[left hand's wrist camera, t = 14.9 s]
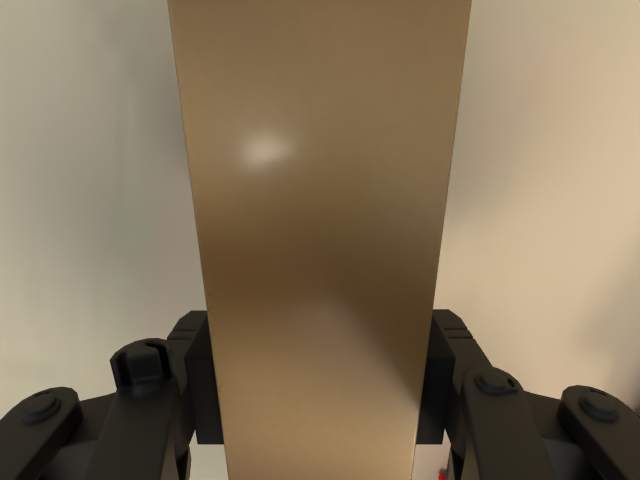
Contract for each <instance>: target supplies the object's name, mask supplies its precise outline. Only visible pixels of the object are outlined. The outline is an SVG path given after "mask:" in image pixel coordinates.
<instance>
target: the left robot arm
mask: <svg viewBox="0 0 640 480" xmlns="http://www.w3.org/2000/svg"><path fill="white" fill-rule="evenodd" d="M110 363H111V367H112V371H113V375H114V379H115V383H116V387H117V391H116V392H115V393H112V394H108V395H105V396H100V397H96V398H92V399H87V400H83V401H79V398H78V394H77V392H75V391H74V390H73V389H72V388H67V387H57V388H50V389H47V390H44V391H41V392H38V393H35V394H33V395H31V396H30V397H28V398H26V399H24V400H22V401H21V402H20V403H19V404H17V405H16V406H15V407H13V408H12V409H11V410H10V411H9V412H8V413H7V414H6V415H5V416H4V417H3V418H2V419H1V420H0V480H189V478H190V468H191V454H190V448H189V444H190V441H191V439H192V436H193V433H194V431H196V437H197V443H198V444H224V440H223V432H222V424H221V416H220V408H219V400H218V393H217V385H216V377H215V369H214V361H213V353H212V346H211V338H210V330H209V322H208V314H207V311H190V312H189V313H187V314H186V315H185V316H183V317H182V318H180V319H179V321H178V322H177V324H176V325H175V327H174V328H173V331H171V333H170V334H169V336H168V337H167V340H164V339H160V338H147V339H143V340H139V341H135V342H133V343H130V344H128V345H126V346H124V347H123V348H121V349H120V350H118V351H117V352H116V353H115V354H114V355H113V356H112V358H111V359H110ZM444 429H445V430H446V432H447V435H448V437H449V440H450V443H451V448H450V453H449V459H448V465H447V471H446V477H445V480H450V477H451V480H640V418H639V417H638V416H637V415H636V414H635V413H634V412H633V411H632V410H631V409H630V408H629V407H628V406H626V405H625V404H624V403H623V402H621V401H620V400H619V399H617V398H615V397H614V396H612V395H610V394H608V393H606V392H604V391H601V390H599V389H595V388H592V387H588V386H580V385H576V386H570V387H568V388H566V389H565V390H564V391H563V393H562V397H561V400H559V399H555V398H550V397H546V396H542V395H537V394H533V393H530V392H526V391H524V390H523V388H522V387H521V385H520V383H519V382H518V381H517V380H516V379H515V378H514V377H512V376H511V375H510V374H508V373H506V372H504V371H502V370H500V369H498V368H494V367H493V366H492V365H491V363H490V362H489V360H488V359H487V357H486V356H485V354H484V353H483V351H482V350H481V348H480V347H479V345H478V344H477V342H476V341H475V339H473V336H472V335H471V333H470V332H469V330H467V327H466V326H465V324H464V323H463V321H462V319H461V318H460V317H458V316H457V315H456V314H454V313H453V312H451V311H450V310H449V309H433V311H432V319H431V327H430V335H429V343H428V351H427V359H426V367H425V375H424V383H423V391H422V399H421V407H420V415H419V423H418V430H417V438H416V444H442V442H443V435H444Z"/></svg>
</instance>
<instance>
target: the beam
mask: <svg viewBox="0 0 640 480" xmlns="http://www.w3.org/2000/svg"><path fill="white" fill-rule="evenodd" d="M167 1H168V9H169V17H170V25H171V32H172V40H173V48H174V56H175V64H176V72H177V79H178V87H179V95H180V103H181V111H182V119H183V126H184V134H185V142H186V150H187V158H188V166H189V173H190V181H191V189H192V197H193V205H194V213H195V220H196V228H197V236H198V244H199V252H200V259H201V267H202V275H203V283H204V291H205V299H206V306H207V314H208V322H209V330H210V338H211V346H212V353H213V361H214V369H215V377H216V385H217V393H218V400H219V408H220V416H221V424H222V432H223V440H224V447H225V455H226V463H227V471H228V479H229V480H411V478H412V470H413V462H414V454H415V446H416V438H417V430H418V423H419V415H420V407H421V399H422V391H423V383H424V375H425V367H426V359H427V351H428V343H429V335H430V327H431V319H432V311H433V303H434V296H435V288H436V280H437V272H438V264H439V256H440V248H441V240H442V232H443V224H444V216H445V208H446V200H447V192H448V184H449V176H450V169H451V161H452V153H453V145H454V137H455V129H456V121H457V113H458V105H459V97H460V89H461V81H462V73H463V65H464V57H465V49H466V42H467V34H468V26H469V18H470V10H471V2H472V0H167Z"/></svg>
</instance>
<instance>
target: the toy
mask: <svg viewBox="0 0 640 480" xmlns="http://www.w3.org/2000/svg"><path fill="white" fill-rule="evenodd" d="M445 477H446V474H443V473H441V475H440V476H439V477H438V478H439V480H445ZM450 480H451V477H450Z"/></svg>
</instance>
